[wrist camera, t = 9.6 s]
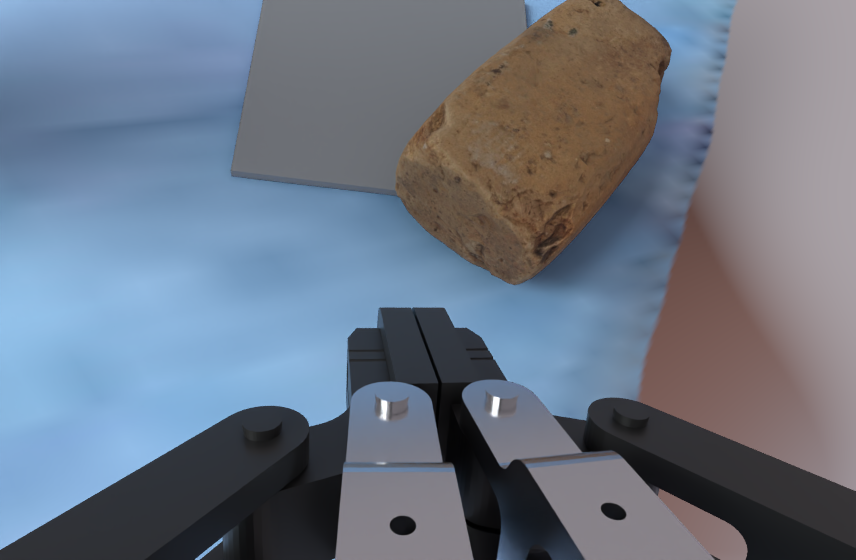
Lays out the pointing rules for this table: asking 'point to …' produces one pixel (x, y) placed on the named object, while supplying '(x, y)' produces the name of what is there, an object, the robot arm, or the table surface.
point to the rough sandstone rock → (537, 138)
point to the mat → (357, 83)
